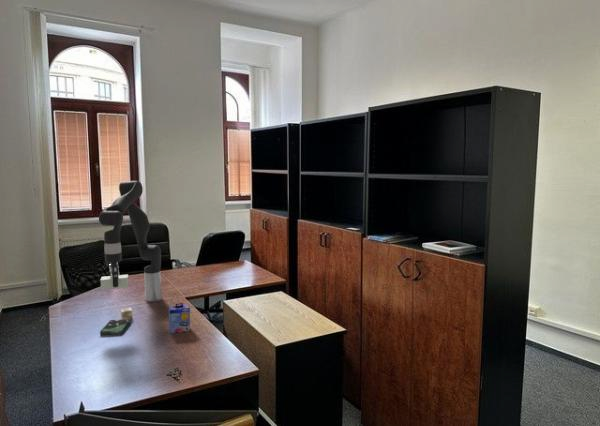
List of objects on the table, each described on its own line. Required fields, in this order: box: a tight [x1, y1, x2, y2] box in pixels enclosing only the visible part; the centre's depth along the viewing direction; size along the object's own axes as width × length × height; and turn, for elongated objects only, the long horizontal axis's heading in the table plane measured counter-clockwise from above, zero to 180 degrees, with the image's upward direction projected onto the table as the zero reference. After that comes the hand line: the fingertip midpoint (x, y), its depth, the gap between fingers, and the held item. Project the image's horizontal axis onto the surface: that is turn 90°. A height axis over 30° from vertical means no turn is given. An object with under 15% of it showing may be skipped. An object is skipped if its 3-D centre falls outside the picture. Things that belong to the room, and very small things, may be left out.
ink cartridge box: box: [168, 302, 191, 334], centre depth 209 cm, size 10×6×14 cm, turn 113°
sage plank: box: [100, 274, 129, 291], centre depth 208 cm, size 12×6×5 cm, turn 110°
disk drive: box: [99, 319, 132, 337], centre depth 211 cm, size 10×3×15 cm
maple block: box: [120, 307, 133, 321], centre depth 225 cm, size 5×5×5 cm
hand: (114, 284), depth 208 cm, fingers closed on sage plank, 6 cm apart
